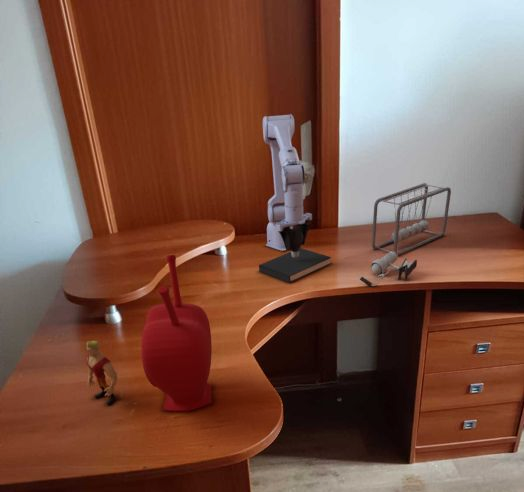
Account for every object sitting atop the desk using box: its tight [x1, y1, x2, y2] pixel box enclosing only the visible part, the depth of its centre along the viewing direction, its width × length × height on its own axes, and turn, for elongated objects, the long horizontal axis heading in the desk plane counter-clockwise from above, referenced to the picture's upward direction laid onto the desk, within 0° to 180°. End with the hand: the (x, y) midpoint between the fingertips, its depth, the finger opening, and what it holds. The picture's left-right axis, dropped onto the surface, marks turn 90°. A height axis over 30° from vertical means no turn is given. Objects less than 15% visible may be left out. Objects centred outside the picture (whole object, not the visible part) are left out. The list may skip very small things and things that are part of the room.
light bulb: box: [290, 227, 304, 259], centre depth 165 cm, size 6×6×10 cm
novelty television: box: [140, 254, 213, 413], centre depth 104 cm, size 21×13×30 cm, turn 4°
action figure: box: [86, 340, 118, 406], centre depth 109 cm, size 10×4×15 cm, turn 51°
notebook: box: [258, 247, 332, 284], centre depth 168 cm, size 14×20×2 cm
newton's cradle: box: [371, 182, 452, 256], centre depth 178 cm, size 30×10×18 cm, turn 130°
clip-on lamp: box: [358, 250, 418, 287], centre depth 157 cm, size 12×6×18 cm
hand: (294, 246), depth 165 cm, fingers closed on light bulb, 5 cm apart
